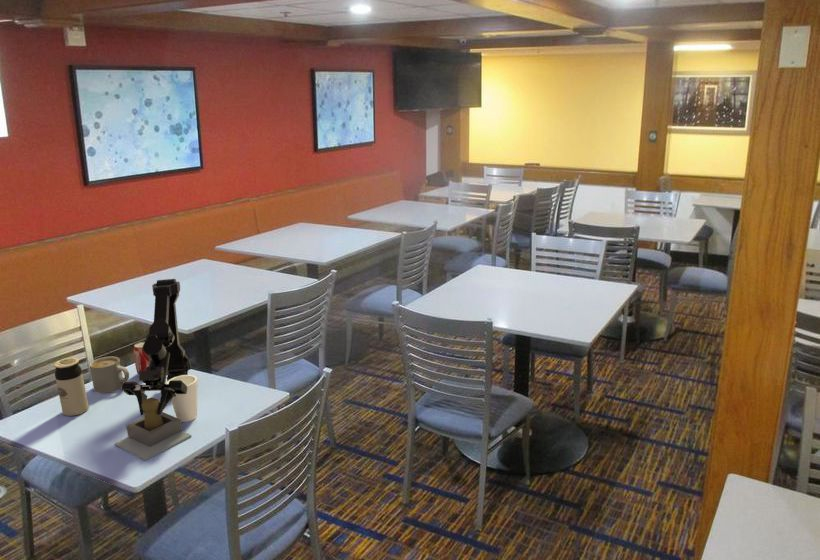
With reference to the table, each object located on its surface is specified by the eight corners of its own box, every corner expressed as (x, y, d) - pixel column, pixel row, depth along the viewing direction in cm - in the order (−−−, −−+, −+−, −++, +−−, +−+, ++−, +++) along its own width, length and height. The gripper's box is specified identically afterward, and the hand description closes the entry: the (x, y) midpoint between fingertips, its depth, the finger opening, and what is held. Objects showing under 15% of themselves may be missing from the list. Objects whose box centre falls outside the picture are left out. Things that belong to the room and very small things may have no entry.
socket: (160, 423, 216) (158, 410, 214) (191, 436, 207) (189, 423, 205) (114, 445, 203) (112, 431, 202) (145, 460, 194) (143, 446, 193)
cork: (153, 438, 204) (147, 406, 201) (140, 433, 207) (135, 401, 204) (169, 429, 209) (164, 398, 205) (156, 424, 212) (151, 393, 209)
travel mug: (82, 403, 231) (72, 355, 226) (93, 409, 226) (83, 360, 221) (58, 412, 225) (48, 363, 220) (69, 419, 220) (59, 369, 215)
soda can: (133, 375, 252) (128, 346, 248) (147, 368, 258) (143, 339, 254) (146, 379, 248) (141, 349, 245) (161, 371, 254) (156, 342, 251)
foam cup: (207, 416, 219) (202, 380, 215) (181, 427, 212) (175, 390, 209) (192, 407, 225) (187, 372, 221) (166, 418, 219) (161, 381, 215)
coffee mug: (87, 391, 240) (83, 365, 237) (108, 379, 249) (104, 355, 246) (116, 396, 236) (112, 370, 233) (137, 384, 244) (133, 359, 241)
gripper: (118, 358, 205) (108, 407, 198) (178, 356, 204) (171, 406, 197) (133, 370, 215) (124, 418, 208) (190, 369, 214) (183, 416, 207)
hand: (150, 414), depth 205 cm, fingers closed on cork, 5 cm apart
